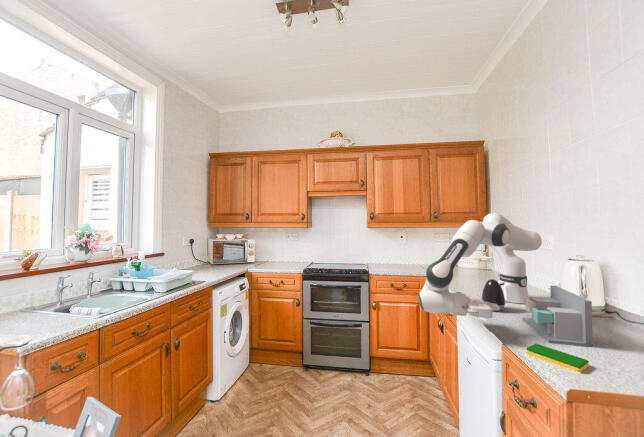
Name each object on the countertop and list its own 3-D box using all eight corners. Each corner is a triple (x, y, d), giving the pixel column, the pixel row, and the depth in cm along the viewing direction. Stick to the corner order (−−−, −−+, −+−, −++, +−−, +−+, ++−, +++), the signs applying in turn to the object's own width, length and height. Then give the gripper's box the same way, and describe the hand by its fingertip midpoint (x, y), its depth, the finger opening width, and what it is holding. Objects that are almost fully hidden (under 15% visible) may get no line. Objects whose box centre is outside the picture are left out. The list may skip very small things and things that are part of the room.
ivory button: (529, 312, 116) (529, 301, 116) (525, 308, 120) (525, 298, 120) (552, 313, 113) (552, 303, 113) (547, 310, 117) (547, 300, 118)
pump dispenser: (500, 314, 130) (500, 282, 130) (478, 309, 138) (477, 279, 139) (509, 310, 136) (508, 279, 136) (487, 305, 145) (486, 276, 145)
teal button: (537, 323, 103) (537, 311, 103) (532, 319, 107) (532, 308, 107) (563, 325, 101) (563, 313, 101) (557, 321, 105) (557, 309, 105)
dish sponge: (580, 375, 80) (579, 366, 80) (525, 355, 92) (525, 348, 92) (589, 368, 83) (589, 360, 83) (536, 349, 95) (535, 342, 95)
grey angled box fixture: (548, 342, 100) (547, 299, 100) (522, 319, 123) (521, 284, 123) (596, 347, 96) (595, 301, 96) (559, 322, 118) (558, 285, 119)
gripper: (465, 303, 103) (507, 306, 99) (455, 290, 122) (490, 293, 118) (465, 320, 103) (508, 324, 99) (456, 305, 122) (491, 307, 118)
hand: (498, 307), depth 109 cm, fingers closed
